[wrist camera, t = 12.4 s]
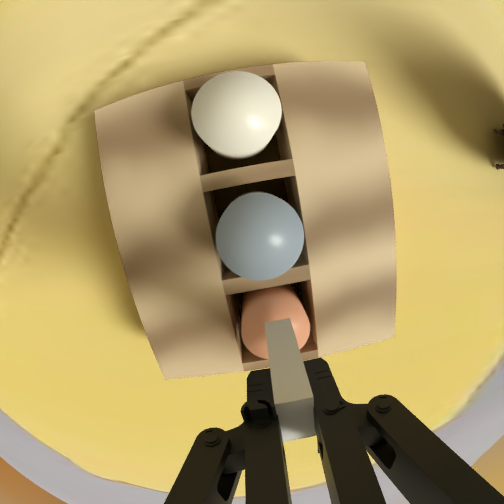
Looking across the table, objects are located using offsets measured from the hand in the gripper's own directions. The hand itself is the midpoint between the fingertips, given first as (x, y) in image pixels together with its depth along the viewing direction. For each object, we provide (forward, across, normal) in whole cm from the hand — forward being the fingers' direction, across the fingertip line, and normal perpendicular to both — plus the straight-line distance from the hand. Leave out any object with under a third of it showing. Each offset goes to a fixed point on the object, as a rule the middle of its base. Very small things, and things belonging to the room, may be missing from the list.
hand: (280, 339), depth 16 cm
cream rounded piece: (+4, 0, +13) cm, 13 cm away
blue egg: (+4, 0, +6) cm, 7 cm away
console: (+7, 0, +6) cm, 10 cm away
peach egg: (+6, 0, 0) cm, 6 cm away
